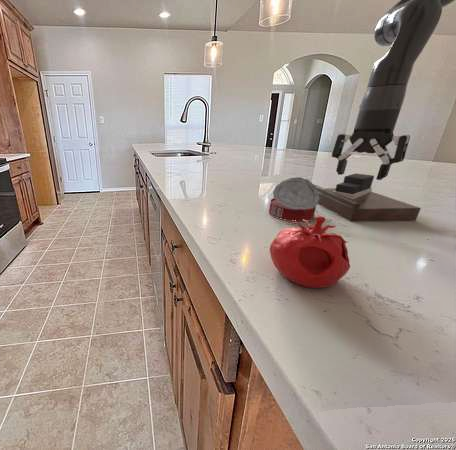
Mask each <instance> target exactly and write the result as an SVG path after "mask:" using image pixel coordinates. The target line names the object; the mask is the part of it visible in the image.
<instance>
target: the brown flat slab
mask: <svg viewBox="0 0 456 450" xmlns="http://www.w3.org/2000/svg"><path fill="white" fill-rule="evenodd" d="M314 186H315V188H316V189H317V191H318V194H319V201H318V204H317V205H319V204H320V205H319V206H321V205H322V206H321V207H323V208H325V209H326V210H328V211H330V210H331V211H330V212H332V211H333V212H332V213H334V212H335V213H334V214H336V213H337V214H336V215H338V216H340V217H342V218H344V219H345V218H346V220H347V219H348V220H347V221H349V220H350V221H349V222H416V221H417V218H418V216H419V214H420V211H421V209H422V208H421V207H419V206H416V205H413V204H410V203H407V202H404V201H401V200H398V199H395V198H392V197H389V196H386V195H383V194H380V193H377V192H375V191H371V192H370V193H367V194H365V195H362V196H360V197H357V198H355V199H348V198H346V197H343V196H341V195H339V194H336V193H334V192H333V191H335V189H336V187H335V188H332V187H331V188H329V187H328V188H324V187H322V186H319V185H317V184H314Z"/></svg>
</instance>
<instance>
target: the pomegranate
mask: <svg viewBox="0 0 456 450" xmlns="http://www.w3.org/2000/svg"><path fill="white" fill-rule="evenodd" d="M314 219H315V223H314V226H313V225H312V224H311V223H310V221H307V220H304V219H303V221H304V222H306V223H307V225H308V228H307V227H305V226H304V225H302V223H301V222H296V221H293V222H290V223H285V225H287V226H291V225H298V226H299V227H286V228H283V229H282V230H281V229H280V230H279V232H278V233H277V235H276V236H275V237H274V239H273V240H272V241H271V243H270V246H269V254H270V259H271V260H272V263H273V265H274V267H275V268H276V270H277V271H278V272H279V273H280V274H281V275H282V276H284V278H286V279H287V280H290V281H292V283H294V284H296V285H300V286H304V287H306V288H315V289H317V288H318V289H319V288H326V287H330V286H333V285H334V284H335V285H336V284H337V283H338V282H339V281H340V280H341V279H342V278H343V277H345V275H347V274H348V272H349V271H350V268H351V264H350V257H349V251H348V248H347V246H346V244H347V243H348V241H347V240H345V239H344V238H343V236H342V235H340V234H339V235H338V234H336V233H332V232H331V233H330V232H326V231H327V230H328V229H332V228H335V227H336V225H335V224H334V225H331V224H326V225H325V226H323V224H324V223H325V221H326V217H325V216H323V215H318V216H315V218H314ZM322 226H323V227H322Z"/></svg>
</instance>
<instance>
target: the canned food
mask: <svg viewBox="0 0 456 450" xmlns="http://www.w3.org/2000/svg"><path fill="white" fill-rule="evenodd" d="M314 185H315V184H314V183H313V182H312V181H311V180H309V179H307V178H303V177H297V176H296V177H290V178H287V179H285V180H281V182H279V184H277V185H276V186H275V188H274V189H273V191H272V194H273V198H271V199H270V203H269V208H268V214H269V213H270V214H271V215H270V214H269V215H270V216H272V215H273V216H275V217H274V218H276V217H278V218H277V219H279V218H282V219H286V220H285V221H287V220H294V221H293V222H296V221H303V219H304V220H310V221H312V220H314V218H313V217H315V212H316V209H317V205H319V204H318V201H319V194H318V191H317V189H316V188H315V186H314ZM273 216H272V217H273ZM282 219H281V220H282ZM311 219H312V220H311ZM295 220H296V221H295Z"/></svg>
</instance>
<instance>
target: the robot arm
mask: <svg viewBox="0 0 456 450" xmlns="http://www.w3.org/2000/svg"><path fill="white" fill-rule="evenodd" d="M455 1H456V0H399V1H398V2H396V4H394V5H393V6H392V7H391V8H390V9H389V10H387V12H385V13H384V15H382V17H381V18H380V19H379V21H378V22H377V24H376V27H375V30H374V33H373V37H374V41H375V42H376V44H377V45H378V46H381V47H390V48H389V50H388V52H386V54H385V55H384V56H382V57H381V58H379V59H378V60H376V61H375V62H374V64H373V66H372V68H371V72H370V74H369V78H368V81H367V85H366V89H365V92H364V94H363V95H362V96H363V97H362V98H361V102H360V104H359V109H358V113H357V117H356V121H355V125H354V128H353V132H352V134H347V133H339V134H338V135H337V137H336V140H335V144H334V146H333V150H332V152H331V157H332V158H335V159H337V160H338V162H337V165H336V169H335V171H336V173H337V175H339V176H340V175H341V176H343V175H344V174H345V171H346V167H347V164H348V160H347V159H348V158H350V157H351V156H352V155H354V154H355V153H356V152H357V153H358V154H359V153H360V154H361V153H366V154H376V155H377V157H378V158H379V159H380V161H381V163H382V164H380V166H379V169H378V173H377V175H376V180H377V181H382V180H383V179H385V178H387V177H388V174H389V172H390V169H391V167H392V165H393V164H398V163H401V162H403V161H404V160H405V157H406V153H407V149H408V147H409V143H410V139H411V136H410V134H404V135H394V131H395V128H396V125H397V122H398V118H399V115H400V113H401V110H402V107H403V104H404V101H405V99H406V98H405V97H406V93H407V88H408V84H409V81H410V78H411V75H412V72H413V69H414V66H415V63H416V62H417V60H418V58H419V57H420V55H421V53H422V52H423V51H424V49H425V47H426V45H427V44H428V42H429V40H431V39H430V38H431V37H432V36H433V33H434V32H435V30H436V28H437V26H438V24H439V22H440V20H441V17H442V13H443V8H445V7H446V6H448V5H450V4H452V3H453V2H455ZM348 141H349V142H350V143H351V145H350V146H349V147H348V148H347V149H346V150H345V151H344V152H343V149H344V146H345V144H346V143H348ZM392 142H394V145H395V146H396V149H395V152H394V157H392V155H391V154H390V151H389V149H388V147H387V146H389V144H391V143H392Z"/></svg>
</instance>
